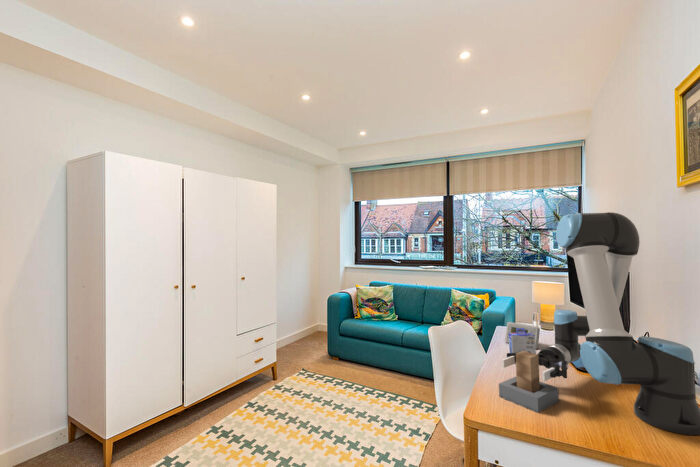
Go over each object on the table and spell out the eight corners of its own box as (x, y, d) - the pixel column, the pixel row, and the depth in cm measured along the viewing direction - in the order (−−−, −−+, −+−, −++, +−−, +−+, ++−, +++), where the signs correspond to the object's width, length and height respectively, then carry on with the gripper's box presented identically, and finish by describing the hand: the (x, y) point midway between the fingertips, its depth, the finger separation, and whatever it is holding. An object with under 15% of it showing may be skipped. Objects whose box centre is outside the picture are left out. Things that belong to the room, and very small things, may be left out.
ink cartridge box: (532, 360, 145) (531, 327, 145) (537, 364, 140) (535, 330, 140) (508, 359, 147) (507, 326, 147) (512, 363, 141) (511, 330, 142)
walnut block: (540, 396, 108) (538, 354, 109) (531, 401, 106) (530, 357, 106) (525, 391, 113) (523, 350, 113) (517, 395, 110) (515, 353, 110)
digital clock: (503, 342, 171) (502, 322, 171) (514, 340, 175) (513, 320, 176) (532, 351, 157) (531, 329, 157) (543, 348, 161) (543, 326, 161)
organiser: (558, 401, 107) (558, 387, 107) (538, 413, 100) (537, 398, 100) (520, 387, 118) (519, 374, 118) (499, 396, 111) (498, 383, 111)
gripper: (594, 378, 109) (563, 395, 97) (521, 357, 130) (488, 369, 118) (593, 356, 109) (562, 370, 97) (520, 338, 130) (488, 348, 118)
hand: (521, 369), depth 108 cm, fingers open, 13 cm apart
